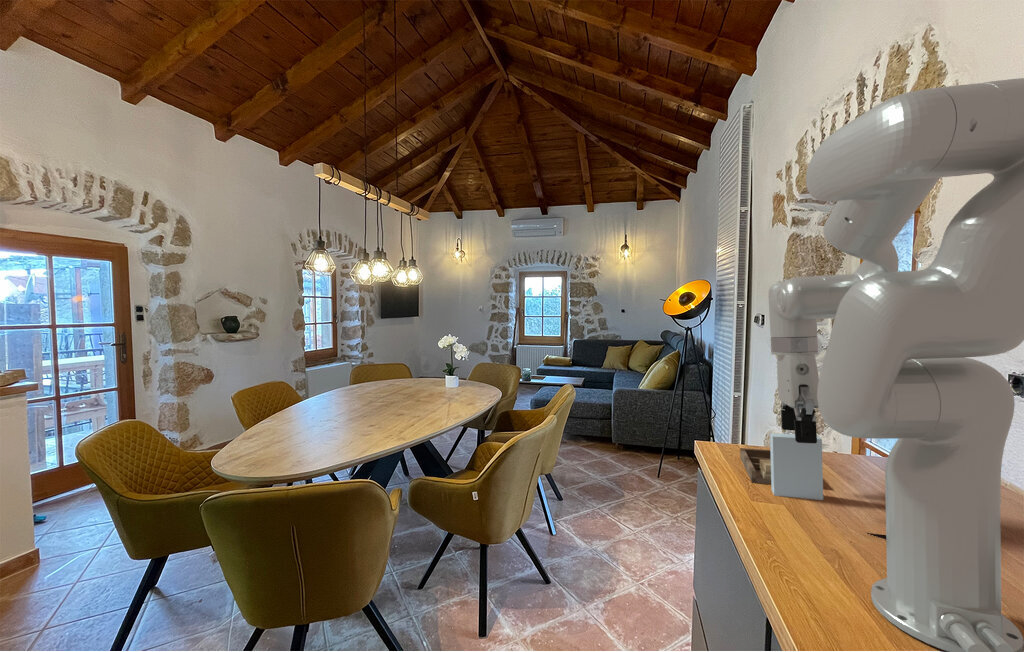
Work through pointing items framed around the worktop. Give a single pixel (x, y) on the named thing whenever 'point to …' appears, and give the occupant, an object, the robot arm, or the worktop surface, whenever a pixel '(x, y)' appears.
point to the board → (796, 467)
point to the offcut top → (765, 466)
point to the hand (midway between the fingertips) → (798, 435)
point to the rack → (755, 463)
